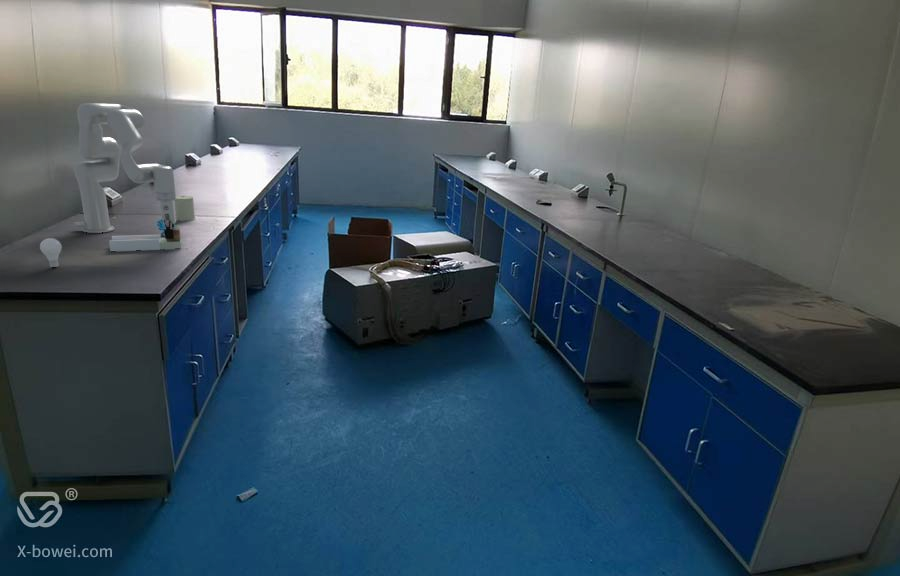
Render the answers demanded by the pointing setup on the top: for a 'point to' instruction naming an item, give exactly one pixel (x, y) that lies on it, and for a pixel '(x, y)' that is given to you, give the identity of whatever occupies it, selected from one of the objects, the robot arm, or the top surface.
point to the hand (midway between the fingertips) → (170, 236)
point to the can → (184, 208)
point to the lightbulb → (51, 250)
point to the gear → (162, 226)
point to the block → (175, 235)
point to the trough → (142, 243)
